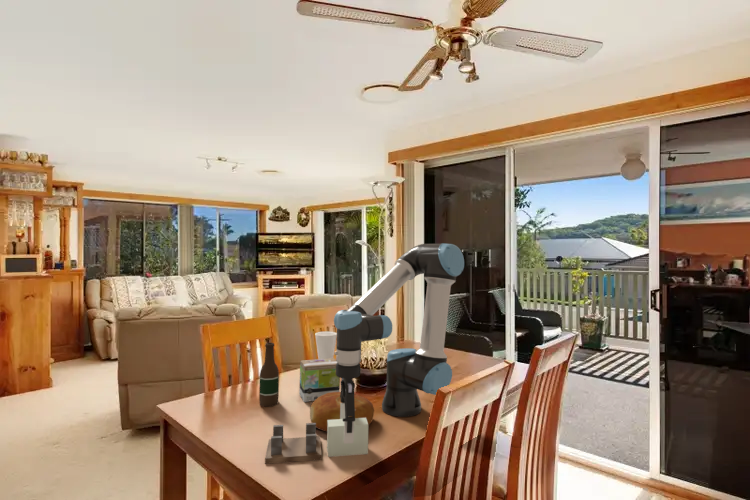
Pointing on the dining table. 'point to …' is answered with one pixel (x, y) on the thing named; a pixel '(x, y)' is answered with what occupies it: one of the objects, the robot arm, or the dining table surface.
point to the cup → (325, 344)
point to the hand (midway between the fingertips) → (346, 432)
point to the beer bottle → (269, 379)
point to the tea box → (318, 378)
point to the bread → (338, 409)
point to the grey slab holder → (293, 446)
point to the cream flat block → (337, 438)
